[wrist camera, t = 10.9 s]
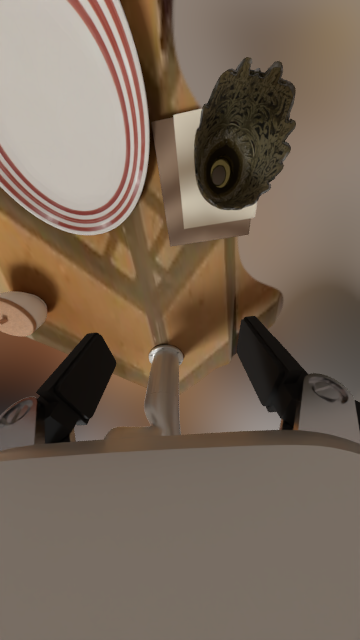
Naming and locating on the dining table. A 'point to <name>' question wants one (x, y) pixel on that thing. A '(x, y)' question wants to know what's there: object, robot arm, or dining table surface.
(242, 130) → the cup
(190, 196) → the cream pedestal stand
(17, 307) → the lidded jar
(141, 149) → the dinner plate
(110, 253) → the dining table surface
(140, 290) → the dining table surface
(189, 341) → the dining table surface
